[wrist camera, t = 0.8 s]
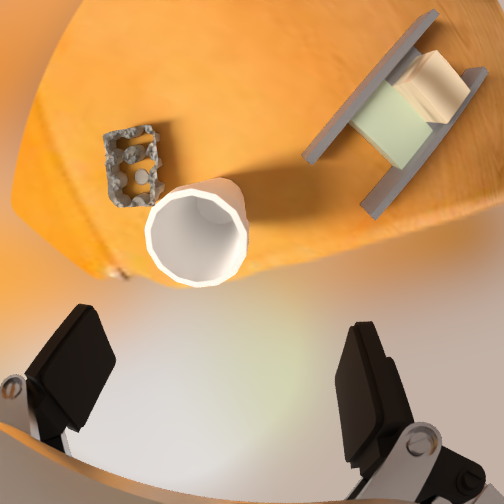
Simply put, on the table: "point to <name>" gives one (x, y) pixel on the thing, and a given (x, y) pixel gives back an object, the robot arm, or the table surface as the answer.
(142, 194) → the egg carton
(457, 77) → the maple block
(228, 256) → the foam cup
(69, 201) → the table surface
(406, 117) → the pad
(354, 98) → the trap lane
